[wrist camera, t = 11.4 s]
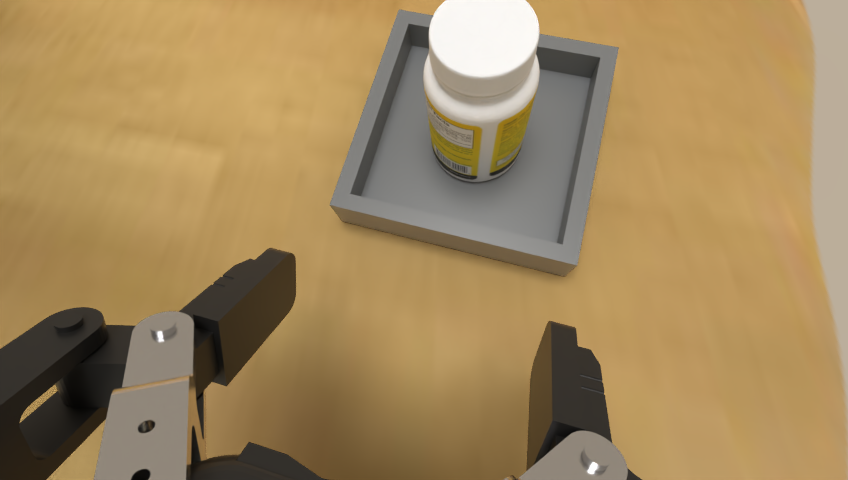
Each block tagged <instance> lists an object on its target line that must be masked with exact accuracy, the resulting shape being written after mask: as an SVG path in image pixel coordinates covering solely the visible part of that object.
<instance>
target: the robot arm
mask: <svg viewBox="0 0 848 480" xmlns="http://www.w3.org/2000/svg"><path fill="white" fill-rule="evenodd" d="M295 297H296V260H295V256H294V254H292V253H289V252H285V251H281V250H277V249H273V248H269V249H267V250H266V251H265V252H264V253H262V254H261V255H260V256H259V257H258V258H257V259H256V260H253V259H249V260H246V261H244V262H242V263H239V264H237V265H235V266H233V267H232V268H231V269H230V270H228V271H227V272H226V273H225V274H224V275H223V277H220V278H219V279H218V280H216V281H215V282H214V284H213V285H210V286H209V287H208V288H207V289H206V290H204V291H203V292H202V293H201V294H200V295H198V296H197V297H196V298H195V299H194V300H192V301H191V302H190V303H189V304H188V305H186V306H185V307H184V308H183V309H182V310H180V311H179V312H175V311H169V312H162V313H158V314H154V315H152V316H149V317H147V318H145V319H144V320H142V321H141V322H139V323H138V324H137V325H136V326H123V325H106V324H105V321H104V317H103V315H102V313H101V312H100V311H98V310H96V309H93V308H86V307H81V308H72V309H67V310H64V311H60V312H58V313H55V314H53V315H51V316H49V317H47V318H46V319H44V320H43V321H41V322H40V323H38V324H37V325H35V326H34V327H32V328H31V329H29V330H28V331H26V332H25V333H23V334H22V335H20V336H19V337H18V338H16V339H15V340H13V341H12V342H10V343H9V344H7V345H6V346H4V347H3V348H1V349H0V480H46V479H47V478H48V477H49V476H50V475H51V474H52V473H53V472H54V471H55V470H56V469H57V468H58V467H59V466H60V465H61V464H62V463H63V462H64V461H65V460H66V459H67V458H68V457H69V456H70V455H71V454H72V453H73V452H74V451H75V450H76V449H77V448H78V447H79V446H80V445H81V444H82V443H83V442H84V441H85V440H86V439H87V437H88V436H89V435H90V434H91V433H92V432H93V431H94V430H95V429H96V428H97V427H98V426H99V425H100V424H101V423H102V422H103V421H104V420H105V419H106V422H105V427H104V432H103V437H102V442H101V447H100V452H99V457H98V462H97V466H96V471H95V476H94V480H327V479H323V478H321V477H319V476H318V475H316V474H315V473H313V472H312V471H310V470H309V469H307V468H306V467H305V466H303V465H302V464H300V463H299V462H297V461H296V460H294V459H293V458H291V457H290V456H289V455H287V454H284V453H281V452H278V451H275V450H272V449H269V448H266V447H263V446H260V445H257V444H254V443H251V442H249V443H248V444H247V445H246V447H245V448H244V450H243V451H242V453H241V454H240V455H224V456H218V457H213V458H209V459H207V455H206V395H205V389H206V387H207V386H208V385H209V384H210V383H211V382H215V383H218V384H221V385H224V386H227V385H228V384H229V383H230V382H231V380H232V379H233V378H234V377H235V376H236V375H237V373H238V372H239V371H240V370H241V369H242V367H243V366H244V365H245V364H246V363H247V361H248V360H249V359H250V358H251V357H252V355H253V354H254V353H255V352H256V351H257V350H258V348H259V347H260V346H261V345H262V344H263V342H264V341H265V340H266V339H267V338H268V336H269V335H270V334H271V333H272V332H273V331H274V329H275V328H276V327H277V326H278V325H279V323H280V322H281V321H282V320H283V319H284V317H285V316H286V315H287V314H288V313H289V311H290V310H291V308H292V306H293V304H294V301H295ZM54 384H55V385H56V387H57V390H58V391H57V392H56V393H55V394H54V395H52V396H51V397H50V398H49V399H48V400H47V401H45V402H44V403H43V404H42V405H41V406H39V407H38V408H37V409H36V410H35V411H34V412H32V413H31V414H30V415H29V416H28V417H27V418H25V419H24V420H23V421H22V422H21V423H19V422H20V418H21V416H22V414H23V412H24V411H25V409H26V408H27V407H28V406H29V405H30V404H31V403H33V402H34V401H35V400H36V399H37V398H39V397H40V396H41V395H42V394H43V393H45V392H46V391H47V390H48V389H49V388H51V387H52V386H53V385H54ZM503 480H642V479H640V478H639V477H637V476H636V475H635V474H633V473H632V472H631V471H630V470H629V469H628V468H627V464H626V461H625V459H624V457H623V456H622V454H621V452H620V451H619V450H618V449H617V448H616V446H614V445H613V444H612V440H611V433H610V427H609V420H608V414H607V407H606V400H605V395H604V387H603V383H602V374H601V367H600V364H599V362H598V361H597V359H596V358H595V356H594V354H593V353H592V351H591V350H589V349H586V348H582V347H578V345H577V334H576V328H575V327H571V326H567V325H564V324H560V323H556V322H552V321H549V322H548V324H547V326H546V328H545V331H544V334H543V337H542V340H541V342H540V345H539V348H538V351H537V354H536V356H535V359H534V363H533V367H532V372H531V379H530V402H529V426H528V451H527V471H526V472H525V473H524V474H523V475H522V476H520V477H519V478H517V479H516V478H515V477H514V476H512V475H511V476H508V477H506V478H505V479H503Z"/></svg>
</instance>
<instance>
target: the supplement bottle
mask: <svg viewBox="0 0 848 480" xmlns="http://www.w3.org/2000/svg"><path fill="white" fill-rule="evenodd" d="M538 41H539V23H538V19H537V16H536V14H535V12H534V10H533V9H532V7H531V6H530V5H529V3H528V2H527V1H526V0H446V1H444V2H443V3H442V4H441V5H440V6H439V8H438V9H437V10H436V12H435V13H434V15H433V18H432V20H431V23H430V27H429V54H428V56H427V59H426V62H425V66H424V74H423V81H424V91H425V98H426V105H427V113H428V120H429V127H430V134H431V142H432V148H433V152H434V155H435V157H436V159H437V161H438V163H439V164H440V166H441V167H442V168H443V169H444V170H445V171H446V172H447V173H449V174H450V175H452V176H454V177H456V178H458V179H460V180H464V181H469V182H482V181H487V180H490V179H493V178H496V177H498V176H500V175H502V174H503V173H505V172H506V171H507V170H508V169H509V168H510V167H511V166H512V165H513V164H514V162H515V161H516V159H517V157H518V155H519V152H520V150H521V146H522V142H523V139H524V135H525V131H526V128H527V124H528V120H529V117H530V113H531V110H532V106H533V102H534V99H535V95H536V91H537V88H538V83H539V72H540V71H539V62H538V58H537V55H536V51H537V46H538Z"/></svg>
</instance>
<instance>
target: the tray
mask: <svg viewBox="0 0 848 480" xmlns="http://www.w3.org/2000/svg"><path fill="white" fill-rule="evenodd" d="M432 18H433V15H427V14H421V13H415V12H409V11H404V10H399V11H398V14H397V17H396V19H395V22H394V25H393V28H392V31H391V34H390V36H389V39H388V42H387V45H386V48H385V50H384V53H383V56H382V59H381V62H380V65H379V67H378V70H377V73H376V76H375V79H374V81H373V84H372V87H371V90H370V93H369V96H368V98H367V101H366V104H365V107H364V110H363V112H362V115H361V118H360V121H359V124H358V127H357V129H356V132H355V135H354V138H353V141H352V143H351V146H350V149H349V152H348V155H347V158H346V160H345V163H344V166H343V169H342V172H341V174H340V177H339V180H338V183H337V186H336V189H335V191H334V194H333V197H332V200H331V203H330V206H331V207H332V209H333V210H334V211H335V212H336V214H337V215H338V216H339V218H340V219H341V220H342V221H343V222H347V223H351V224H355V225H359V226H363V227H367V228H371V229H375V230H379V231H383V232H387V233H391V234H395V235H399V236H403V237H407V238H411V239H415V240H419V241H423V242H427V243H432V244H436V245H440V246H444V247H448V248H452V249H456V250H460V251H464V252H468V253H472V254H476V255H480V256H484V257H488V258H492V259H496V260H500V261H504V262H508V263H512V264H516V265H520V266H524V267H528V268H532V269H536V270H540V271H544V272H548V273H552V274H556V275H560V276H565V275H567V274H568V273H569V272H570V271H571V270H572V269H574V268H575V267H576V266H577V264H578V259H579V253H580V248H581V243H582V238H583V232H584V227H585V222H586V217H587V211H588V206H589V201H590V196H591V190H592V185H593V180H594V175H595V169H596V164H597V159H598V154H599V148H600V143H601V138H602V133H603V127H604V122H605V117H606V112H607V106H608V101H609V96H610V91H611V85H612V80H613V75H614V70H615V64H616V59H617V54H618V49H619V48H618V47H613V46H607V45H601V44H595V43H589V42H584V41H578V40H572V39H566V38H560V37H555V36H549V35H543V34H539V41H538V46H537V51H536V55H537V58H538V62H539V71H540V72H539V83H538V88H537V91H536V95H535V99H534V102H533V106H532V110H531V113H530V117H529V120H528V124H527V128H526V131H525V135H524V139H523V142H522V146H521V150H520V152H519V155H518V157H517V159H516V161H515V162H514V164H513V165H512V166H511V167H510V168H509V169H508V170H507V171H506V172H505V173H503V174H502V175H500V176H498V177H496V178H493V179H490V180H487V181H482V182H469V181H464V180H460V179H458V178H456V177H454V176H452V175H450V174H449V173H447V172H446V171H445V170H444V169H443V168H442V167H441V166H440V164H439V163H438V161H437V159H436V157H435V155H434V152H433V148H432V142H431V134H430V127H429V120H428V113H427V105H426V98H425V91H424V81H423V74H424V66H425V62H426V59H427V56H428V54H429V27H430V23H431V20H432Z"/></svg>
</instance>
